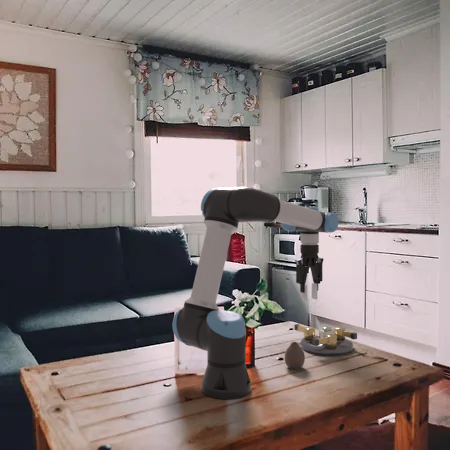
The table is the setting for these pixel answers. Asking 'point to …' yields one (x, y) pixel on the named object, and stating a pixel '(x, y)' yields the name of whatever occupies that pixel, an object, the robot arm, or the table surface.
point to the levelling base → (307, 346)
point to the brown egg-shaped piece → (294, 356)
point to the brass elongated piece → (344, 334)
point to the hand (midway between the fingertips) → (309, 299)
